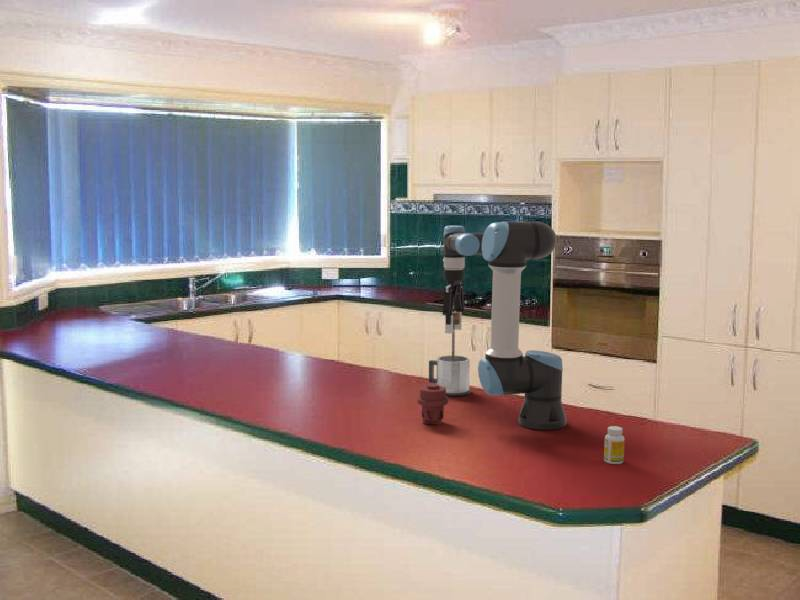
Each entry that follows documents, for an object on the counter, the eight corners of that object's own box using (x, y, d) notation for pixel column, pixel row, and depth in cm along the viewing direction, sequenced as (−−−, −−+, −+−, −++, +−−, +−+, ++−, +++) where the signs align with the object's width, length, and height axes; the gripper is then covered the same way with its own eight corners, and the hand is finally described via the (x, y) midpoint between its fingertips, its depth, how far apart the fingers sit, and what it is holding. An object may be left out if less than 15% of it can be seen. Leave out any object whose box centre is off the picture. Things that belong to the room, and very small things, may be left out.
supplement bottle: (600, 461, 248) (601, 428, 247) (610, 457, 252) (611, 424, 251) (617, 465, 245) (618, 431, 243) (627, 461, 248) (628, 427, 247)
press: (475, 390, 330) (475, 356, 328) (463, 398, 318) (463, 363, 316) (436, 386, 336) (436, 353, 335) (422, 393, 325) (423, 359, 323)
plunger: (467, 368, 328) (467, 312, 325) (459, 372, 320) (460, 315, 317) (446, 366, 331) (447, 310, 328) (438, 370, 324) (439, 313, 321)
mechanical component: (452, 425, 283) (422, 428, 281) (442, 417, 293) (413, 419, 290) (452, 387, 282) (422, 389, 279) (442, 380, 291) (413, 382, 289)
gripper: (454, 265, 331) (453, 326, 334) (433, 271, 313) (432, 335, 316) (473, 266, 328) (472, 327, 331) (453, 272, 309) (452, 336, 313)
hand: (453, 331), depth 324 cm, fingers open, 8 cm apart
